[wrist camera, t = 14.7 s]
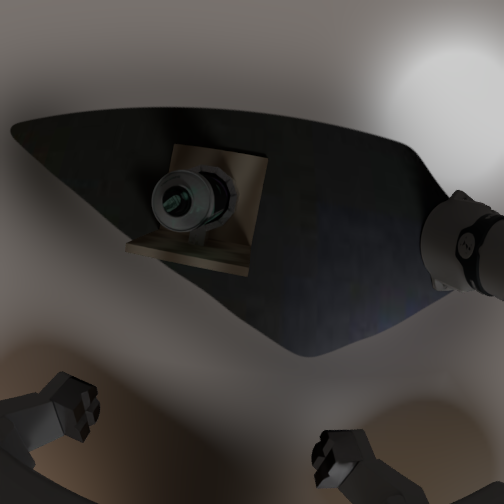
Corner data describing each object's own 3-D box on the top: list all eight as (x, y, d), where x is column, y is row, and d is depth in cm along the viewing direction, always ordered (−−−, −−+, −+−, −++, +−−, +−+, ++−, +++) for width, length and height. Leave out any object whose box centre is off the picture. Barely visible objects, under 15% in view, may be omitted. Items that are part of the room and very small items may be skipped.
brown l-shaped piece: (267, 159, 40) (273, 144, 27) (249, 251, 43) (247, 276, 30) (176, 144, 39) (144, 127, 27) (160, 234, 42) (125, 251, 30)
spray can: (237, 189, 40) (220, 185, 20) (220, 222, 41) (187, 250, 21) (204, 172, 39) (158, 154, 20) (187, 205, 40) (129, 218, 21)
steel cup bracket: (244, 174, 39) (242, 171, 34) (231, 242, 41) (227, 250, 36) (189, 165, 39) (178, 161, 33) (177, 232, 41) (165, 239, 35)
